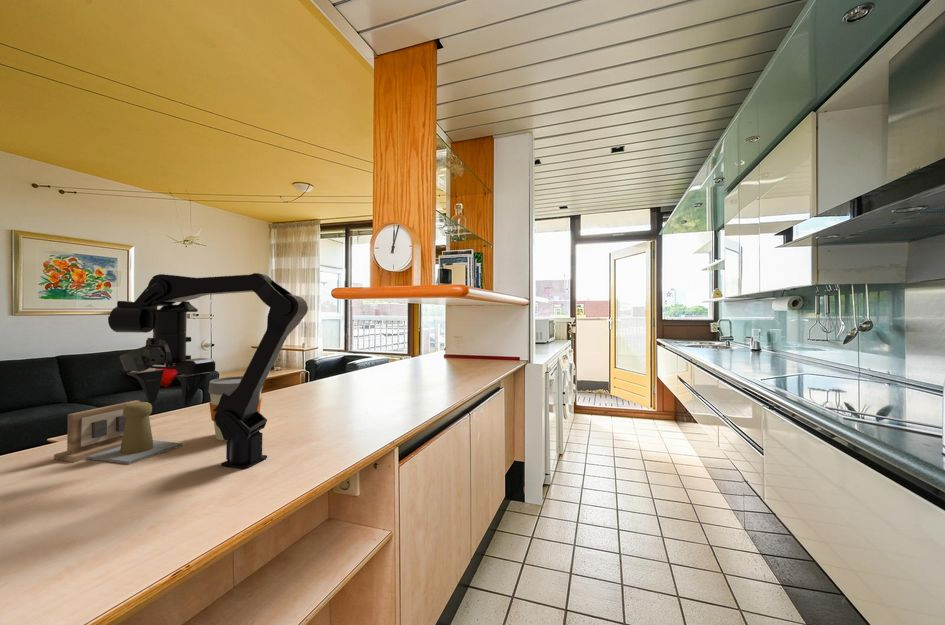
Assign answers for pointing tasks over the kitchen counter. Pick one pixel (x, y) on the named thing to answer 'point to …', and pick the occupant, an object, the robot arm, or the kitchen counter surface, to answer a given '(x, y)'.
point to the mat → (117, 457)
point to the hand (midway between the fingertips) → (168, 404)
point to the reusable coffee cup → (217, 390)
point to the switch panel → (94, 432)
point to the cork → (137, 428)
